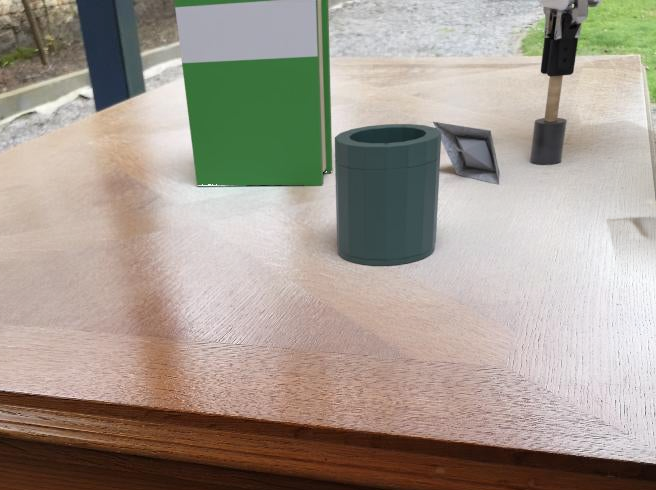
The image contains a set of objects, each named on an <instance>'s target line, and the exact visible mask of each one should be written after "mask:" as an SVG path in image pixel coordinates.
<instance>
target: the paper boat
mask: <svg viewBox="0 0 656 490" xmlns="http://www.w3.org/2000/svg"><path fill="white" fill-rule="evenodd" d="M432 123H433V127H434V128H437V129H438V130H439V131H440V132H441V144H442V145H443V147H444V150H445V151H446V154H447V156H448V157H449V160H450V162H451V165H452V166H453V168H454V171H455V173H456V176H457V175H458V176H462V177H465V178H470V179H473V180H477V181H483V182H487V183H490V184H491V183H492V184H496V185H500V174H501V173H500V172H501V171H500V168H499V164H498V163H499V162H498V158H497V154H496V148H495V144H494V139H493V135H492V130H487V129H482V128H481V129H480V128H475V127H470V126H463V125H456V124H450V123H444V122H438V121H432Z"/></svg>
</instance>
